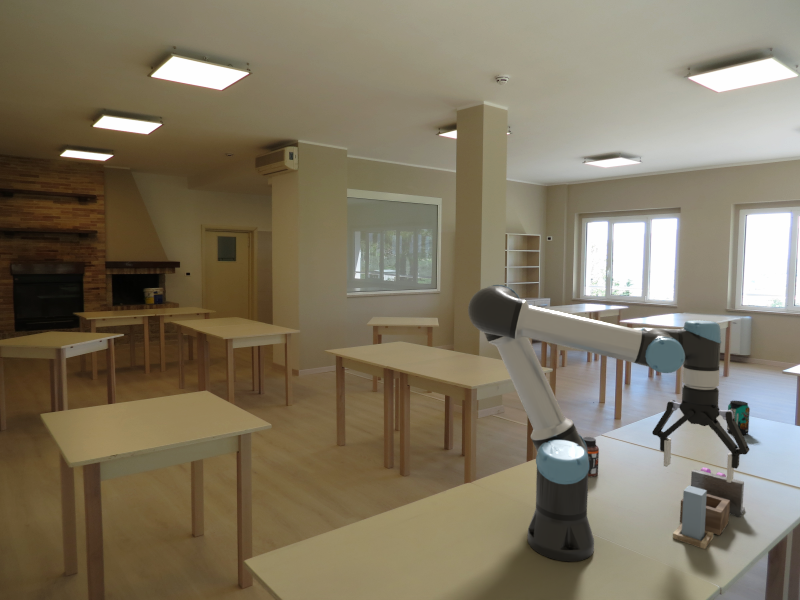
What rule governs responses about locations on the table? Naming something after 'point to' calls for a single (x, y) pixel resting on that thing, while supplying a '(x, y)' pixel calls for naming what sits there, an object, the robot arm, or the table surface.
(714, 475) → the backstop
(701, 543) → the stand
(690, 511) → the light blue square peg
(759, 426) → the table surface
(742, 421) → the beverage can
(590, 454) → the supplement bottle
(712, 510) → the brown wooden box
